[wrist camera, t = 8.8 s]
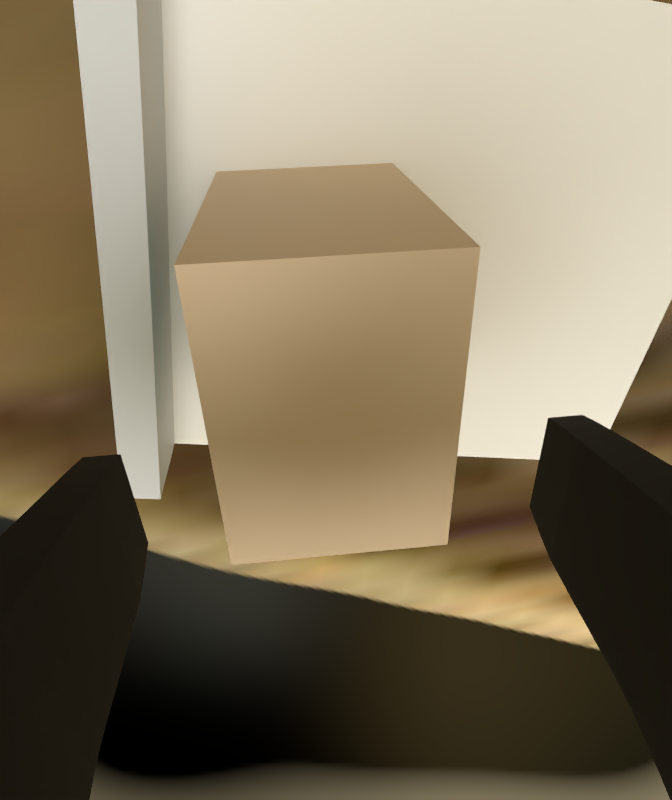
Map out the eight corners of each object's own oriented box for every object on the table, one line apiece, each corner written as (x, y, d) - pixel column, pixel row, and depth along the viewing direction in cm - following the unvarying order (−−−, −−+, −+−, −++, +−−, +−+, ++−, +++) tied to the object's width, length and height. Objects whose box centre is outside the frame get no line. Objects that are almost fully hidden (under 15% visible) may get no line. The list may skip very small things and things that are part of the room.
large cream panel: (103, -96, 13) (50, -141, 10) (782, 28, 16) (905, 23, 13) (139, 431, 21) (116, 497, 18) (587, 453, 23) (634, 513, 20)
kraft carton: (392, 162, 16) (480, 247, 9) (387, 374, 20) (447, 544, 13) (209, 171, 16) (160, 266, 9) (239, 385, 19) (222, 565, 13)
